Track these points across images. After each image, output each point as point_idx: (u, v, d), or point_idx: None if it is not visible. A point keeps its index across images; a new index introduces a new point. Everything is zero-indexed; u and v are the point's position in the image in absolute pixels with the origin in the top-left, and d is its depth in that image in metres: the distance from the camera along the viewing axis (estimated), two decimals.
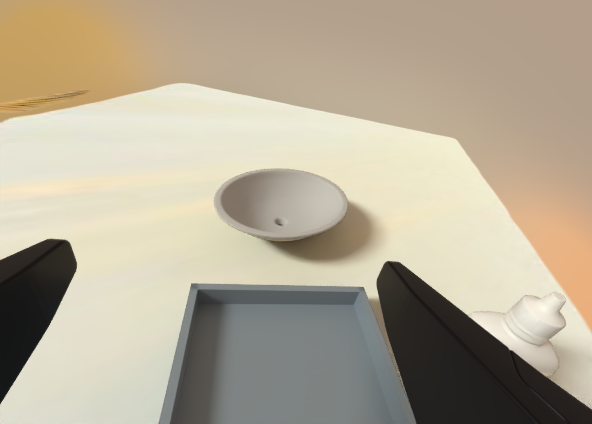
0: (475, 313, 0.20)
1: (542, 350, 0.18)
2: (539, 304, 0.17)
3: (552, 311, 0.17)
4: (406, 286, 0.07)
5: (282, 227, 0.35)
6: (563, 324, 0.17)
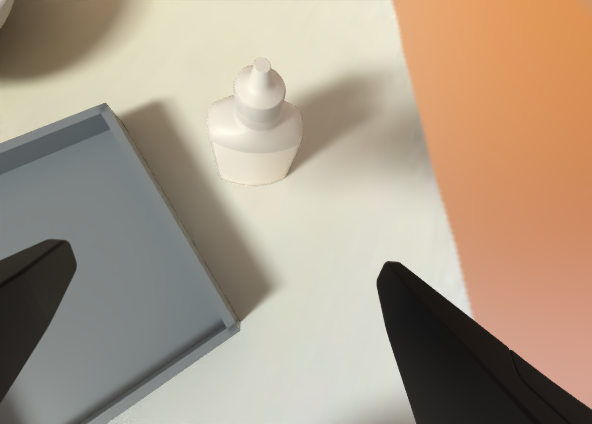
0: (210, 107, 0.15)
1: (278, 130, 0.15)
2: (248, 82, 0.12)
3: (260, 89, 0.12)
4: (406, 286, 0.07)
5: None
6: (278, 100, 0.13)
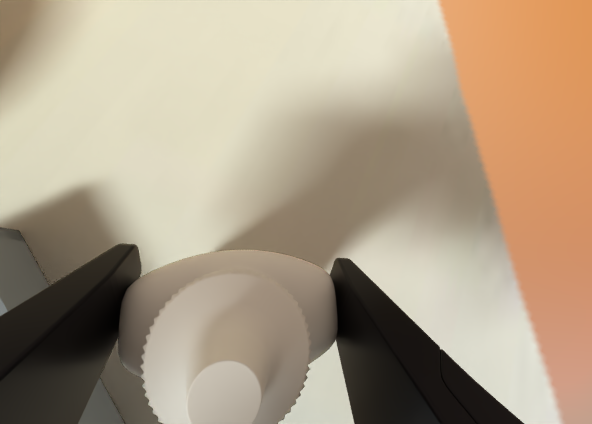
0: (125, 300, 0.06)
1: None
2: (183, 384, 0.03)
3: None
4: (349, 283, 0.07)
5: None
6: (291, 400, 0.04)
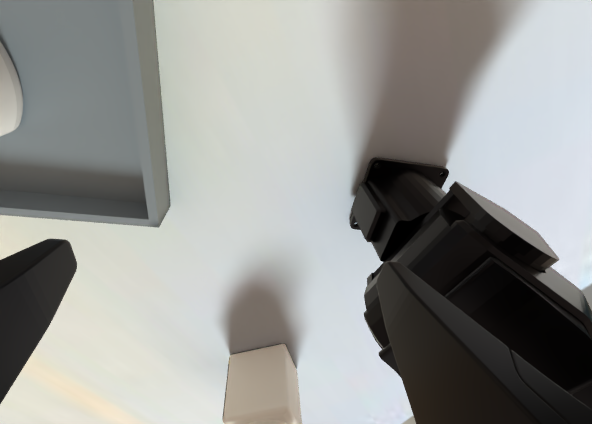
0: None
1: None
2: None
3: None
4: (406, 286, 0.07)
5: None
6: None
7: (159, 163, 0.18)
